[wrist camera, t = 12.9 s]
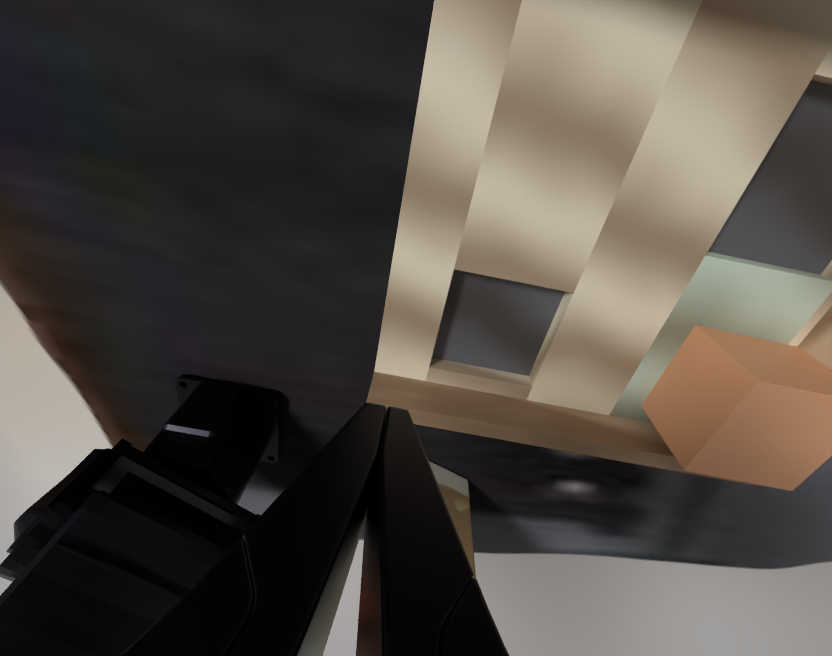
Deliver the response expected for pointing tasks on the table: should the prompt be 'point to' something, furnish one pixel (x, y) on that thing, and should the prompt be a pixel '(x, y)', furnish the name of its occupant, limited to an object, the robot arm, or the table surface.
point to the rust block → (744, 409)
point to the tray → (605, 210)
